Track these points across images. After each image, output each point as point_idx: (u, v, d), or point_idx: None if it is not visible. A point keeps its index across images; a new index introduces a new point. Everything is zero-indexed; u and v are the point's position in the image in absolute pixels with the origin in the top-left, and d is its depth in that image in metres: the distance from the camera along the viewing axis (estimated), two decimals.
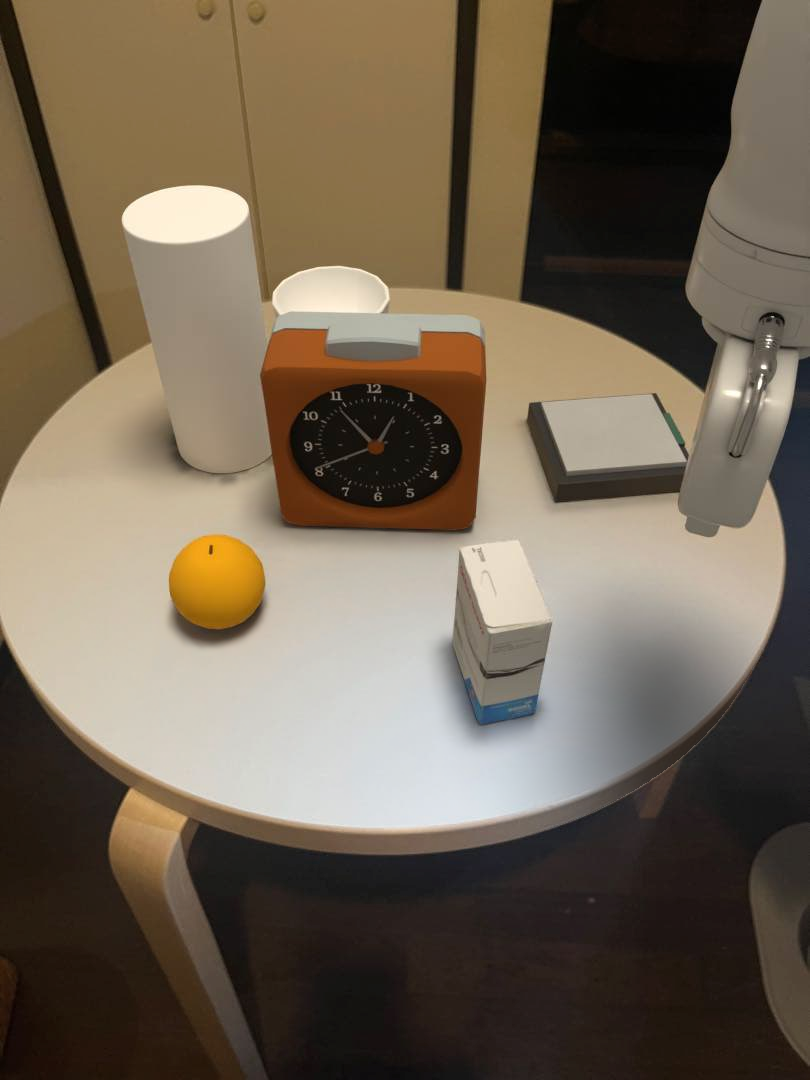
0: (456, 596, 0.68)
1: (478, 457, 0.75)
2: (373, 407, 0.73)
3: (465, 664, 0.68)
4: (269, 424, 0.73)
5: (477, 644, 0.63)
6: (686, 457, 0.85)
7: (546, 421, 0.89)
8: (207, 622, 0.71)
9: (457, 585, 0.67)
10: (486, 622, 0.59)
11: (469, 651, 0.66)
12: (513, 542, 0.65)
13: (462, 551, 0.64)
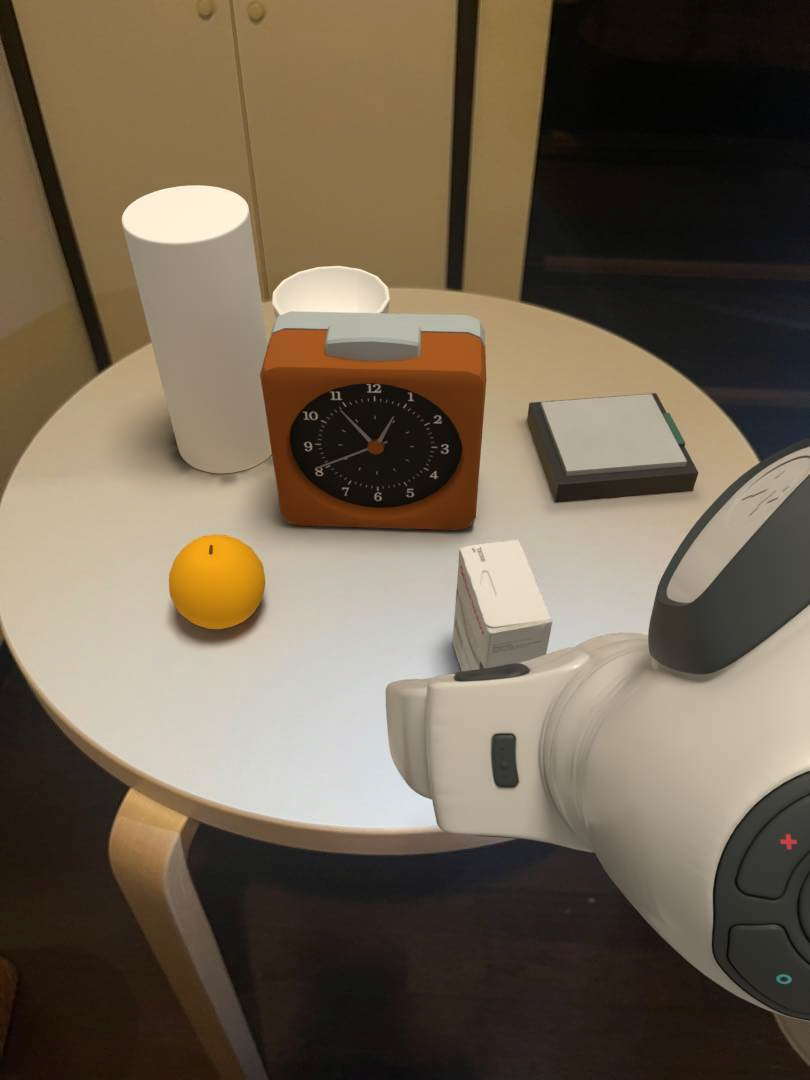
0: (456, 596, 0.68)
1: (478, 457, 0.75)
2: (373, 407, 0.73)
3: (465, 664, 0.68)
4: (269, 424, 0.73)
5: (477, 644, 0.63)
6: (686, 457, 0.85)
7: (546, 421, 0.89)
8: (207, 622, 0.71)
9: (457, 585, 0.67)
10: (486, 622, 0.59)
11: (469, 651, 0.66)
12: (513, 542, 0.65)
13: (462, 551, 0.64)
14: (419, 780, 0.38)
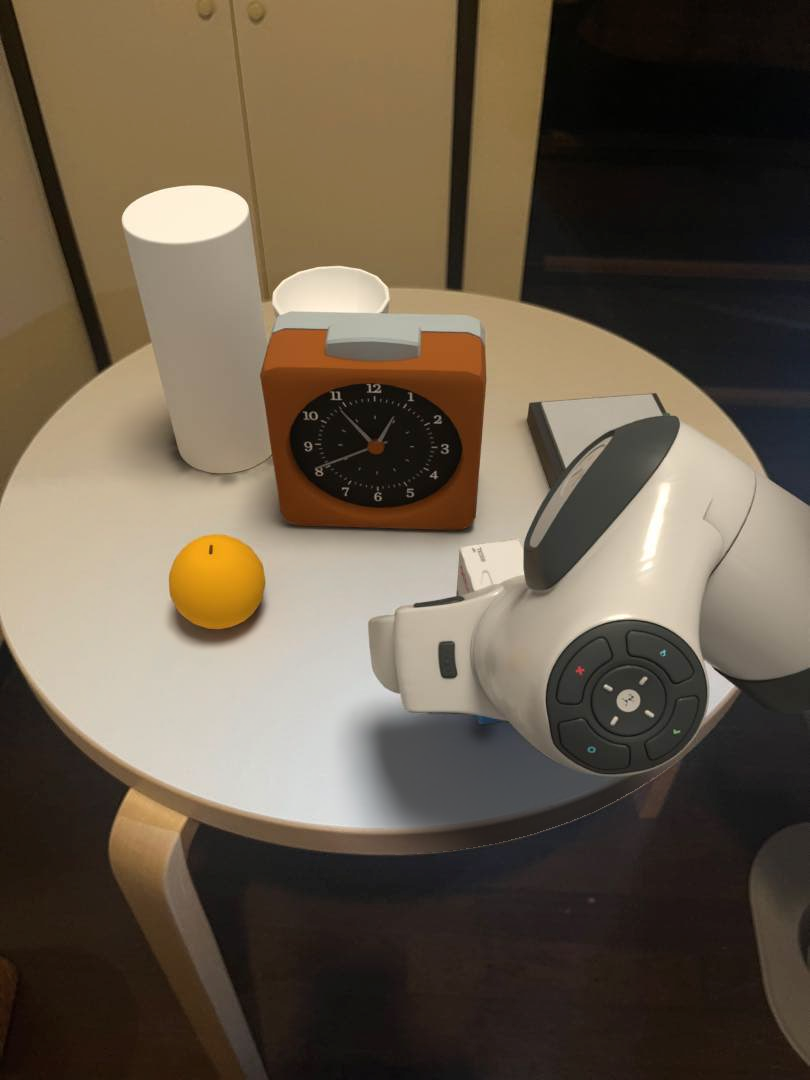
0: None
1: (478, 457, 0.75)
2: (373, 407, 0.73)
3: None
4: (269, 424, 0.73)
5: None
6: None
7: (546, 421, 0.89)
8: (207, 622, 0.71)
9: (457, 585, 0.67)
10: None
11: None
12: (513, 542, 0.65)
13: (462, 551, 0.64)
14: (391, 681, 0.54)
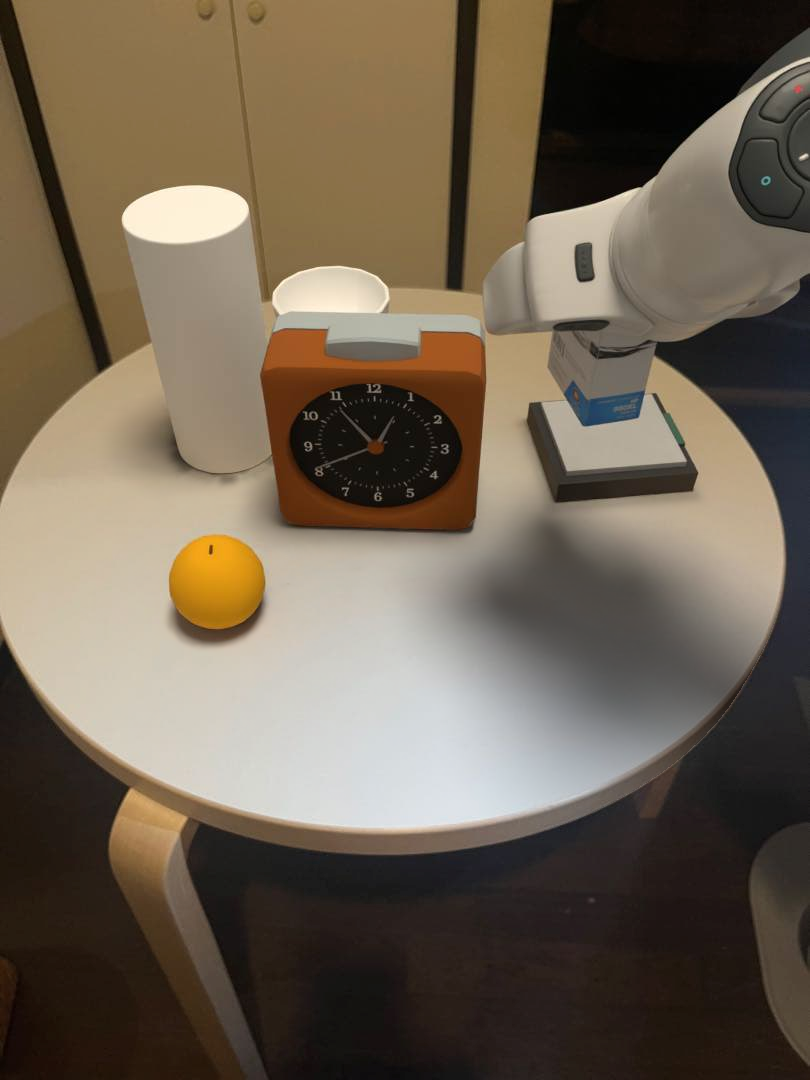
0: None
1: (478, 457, 0.75)
2: (373, 407, 0.73)
3: (567, 369, 0.67)
4: (269, 424, 0.73)
5: None
6: (686, 457, 0.85)
7: (546, 421, 0.89)
8: (207, 622, 0.71)
9: None
10: None
11: (575, 345, 0.64)
12: None
13: None
14: (518, 310, 0.53)
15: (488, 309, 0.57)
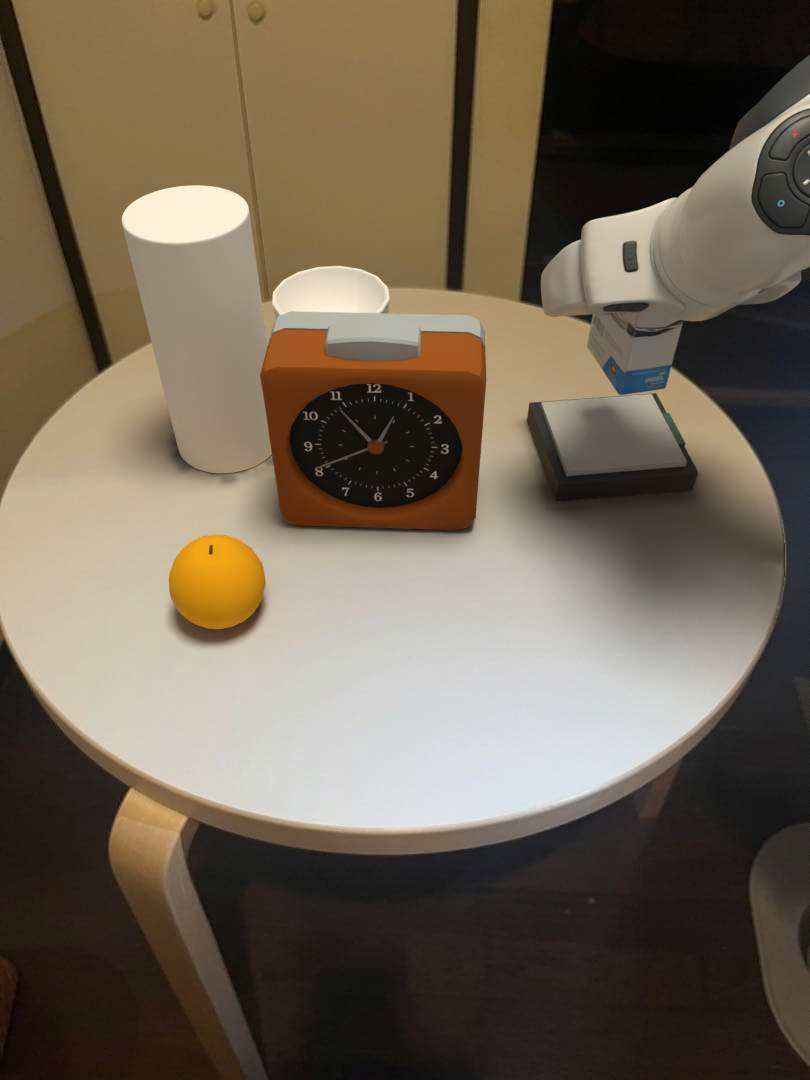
0: None
1: (478, 457, 0.75)
2: (373, 407, 0.73)
3: (605, 347, 0.79)
4: (269, 424, 0.73)
5: None
6: (686, 457, 0.85)
7: (546, 421, 0.89)
8: (207, 622, 0.71)
9: None
10: None
11: (613, 326, 0.77)
12: None
13: None
14: (574, 295, 0.66)
15: (546, 295, 0.70)
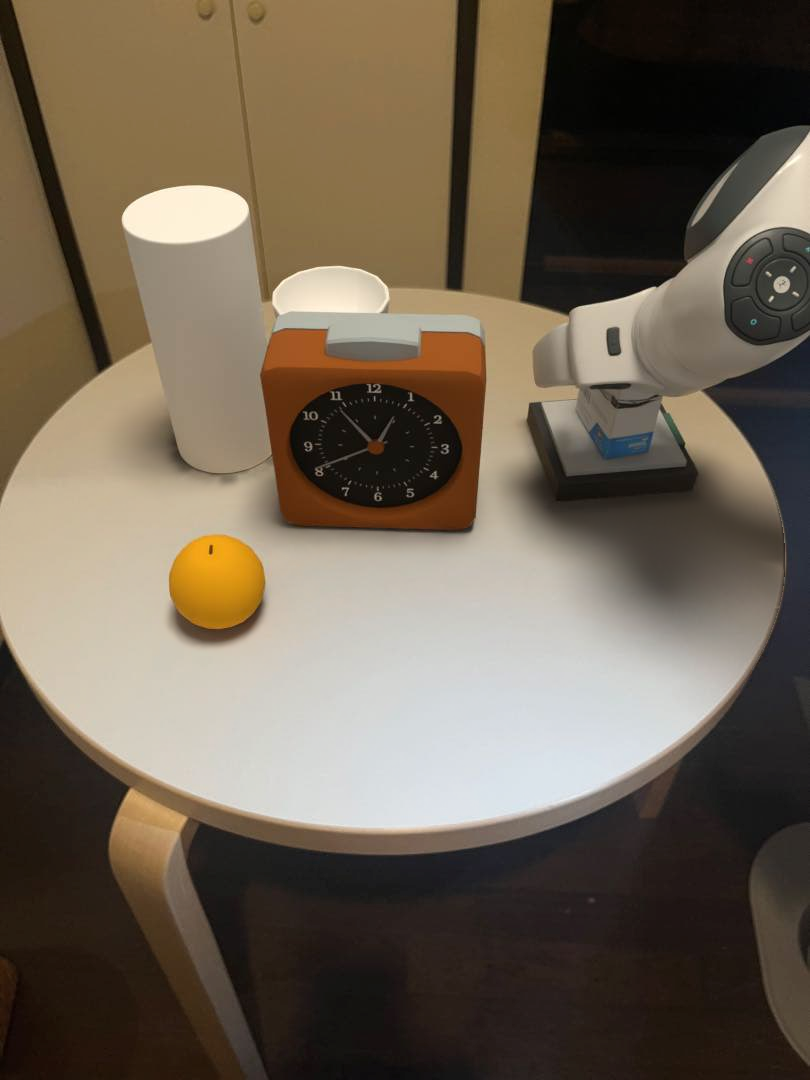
0: None
1: (478, 457, 0.75)
2: (373, 407, 0.73)
3: (592, 414, 0.85)
4: (269, 424, 0.73)
5: None
6: (686, 457, 0.85)
7: (546, 421, 0.89)
8: (207, 622, 0.71)
9: None
10: None
11: (599, 396, 0.82)
12: None
13: None
14: (562, 373, 0.71)
15: (537, 369, 0.75)
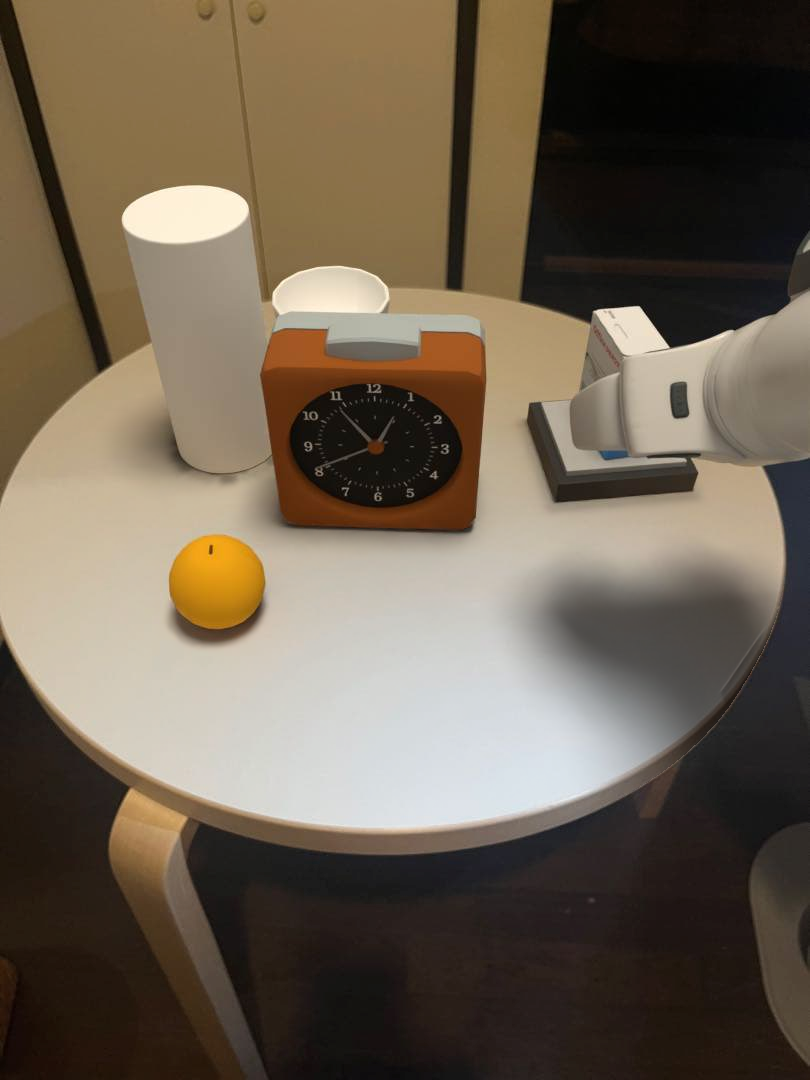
0: (585, 359, 0.85)
1: (478, 457, 0.75)
2: (373, 407, 0.73)
3: None
4: (269, 424, 0.73)
5: None
6: None
7: (546, 421, 0.89)
8: (207, 622, 0.71)
9: (587, 348, 0.84)
10: (623, 352, 0.76)
11: None
12: (635, 307, 0.82)
13: (596, 312, 0.81)
14: (611, 437, 0.56)
15: (577, 427, 0.60)
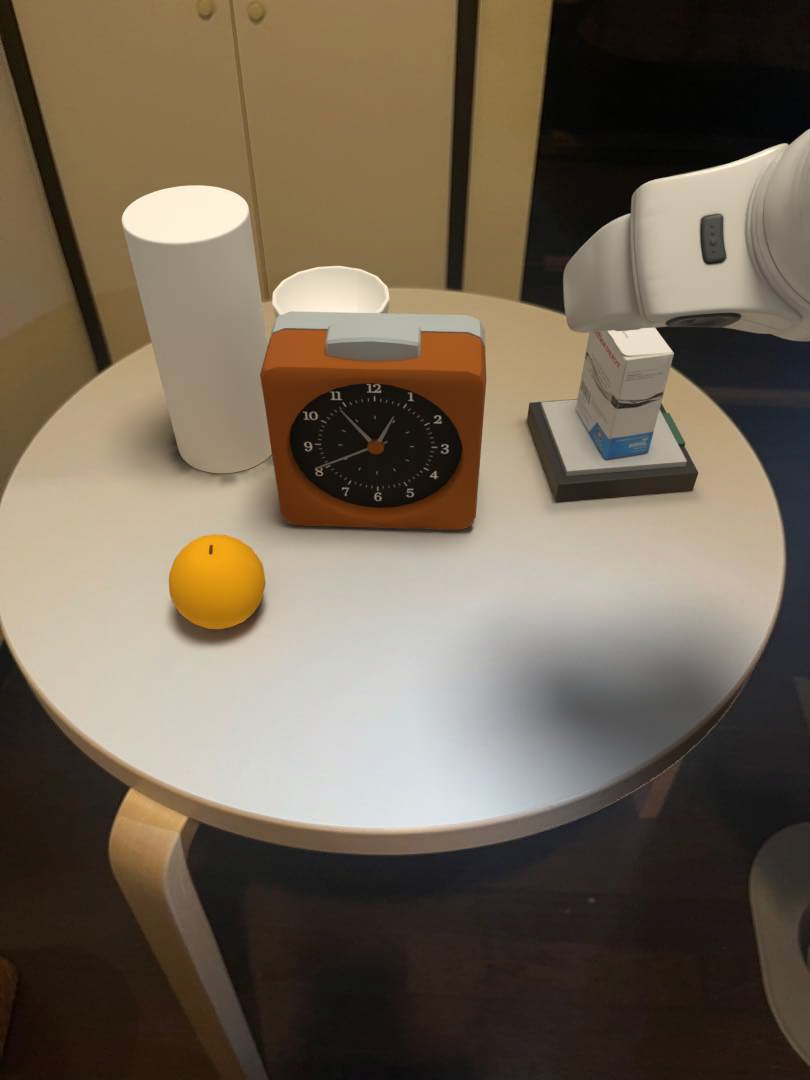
0: (585, 359, 0.85)
1: (478, 457, 0.75)
2: (373, 407, 0.73)
3: (592, 414, 0.85)
4: (269, 424, 0.73)
5: (610, 381, 0.80)
6: (686, 457, 0.85)
7: (546, 421, 0.89)
8: (207, 622, 0.71)
9: (587, 348, 0.84)
10: (623, 352, 0.76)
11: (599, 396, 0.82)
12: None
13: None
14: (619, 301, 0.42)
15: (573, 300, 0.46)
